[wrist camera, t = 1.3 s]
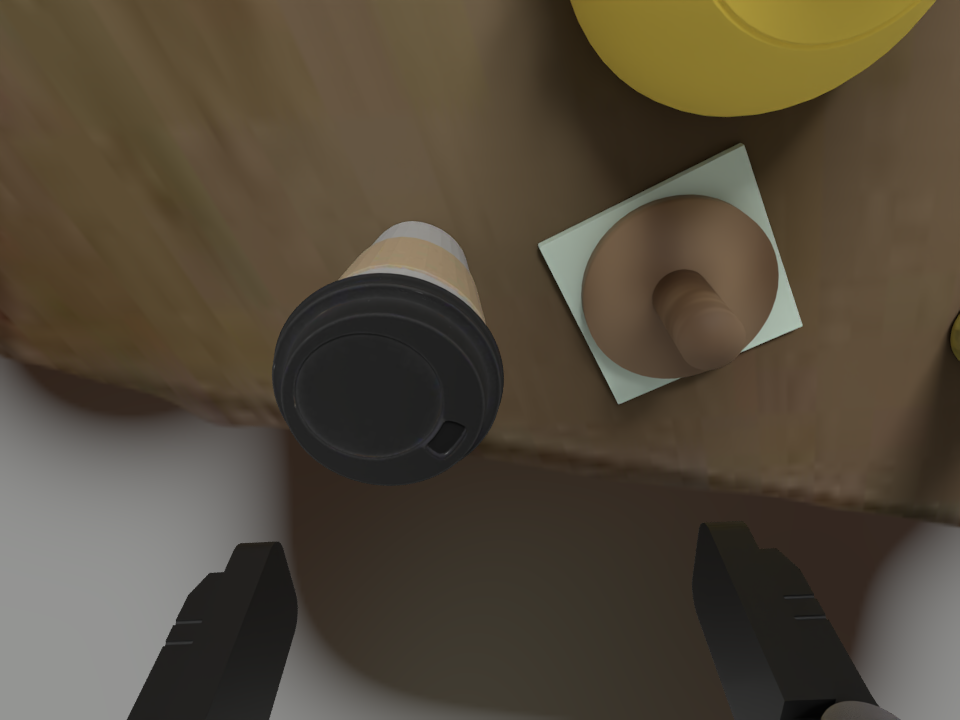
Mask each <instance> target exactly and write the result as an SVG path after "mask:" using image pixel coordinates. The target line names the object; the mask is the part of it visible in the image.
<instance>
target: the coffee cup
mask: <svg viewBox="0 0 960 720" xmlns="http://www.w3.org/2000/svg"><path fill="white" fill-rule="evenodd" d="M272 381H273V389H274V394H275V398H276V401H277V404H278V407H279V409H280V412H281V414H282V416H283V418H284V420H285V421H286V423H287V424H288V426H289V428H290V430H291V432H292V434H293V435H294V437H295V439H296V440H297V441H298V443H299V444H300V445H301V446H302V448H303V449H304V450H305V451H306V452H307V453H308V454H309V455H310V456H311V457H313V458H314V459H315V460H316V461H317V462H319V463H320V464H322V465H323V466H325V467H326V468H328V469H329V470H331V471H333V472H335V473H337V474H339V475H341V476H344V477H346V478H349V479H352V480H355V481H359V482H363V483H368V484H374V485H387V486H393V485H406V484H411V483H416V482H420V481H424V480H427V479H430V478H432V477H434V476H436V475H439V474H441V473H442V472H444V471H446V470H447V469H449V468H451V467H452V466H453V465H454V464H456V463H457V462H458V461H460V460H461V459H463V458H464V457H466V456H467V455H468V454H469V453H471V452H472V451H473V450H474V449H475V448H476V447H477V446H478V445H479V444H480V442H481V441H482V440H483V439H484V437H485V436H486V435H487V433H488V431H489V430H490V428H491V426H492V424H493V422H494V420H495V417H496V414H497V411H498V408H499V405H500V402H501V398H502V393H503V385H504V373H503V365H502V359H501V356H500V352H499V349H498V346H497V344H496V341H495V339H494V337H493V336H492V334H491V332H490V330H489V329H488V327H487V326H486V322H485V318H484V314H483V310H482V307H481V303H480V299H479V295H478V291H477V287H476V285H475V283H474V280H473V278H472V276H471V274H470V272H469V268H468V264H467V261H466V258H465V255H464V253H463V250H462V249H461V247H460V246H459V245H458V243H457V242H456V241H455V240H454V239H453V238H452V237H451V236H450V235H449V234H447V233H446V232H444V231H443V230H441V229H439V228H437V227H435V226H433V225H430V224H427V223H423V222H415V221H409V222H402V223H399V224H397V225H394V226H392V227H391V228H389V229H388V230H386V231H385V232H384V233H383V234H382V235H381V236H380V237H379V238H378V239H377V240H376V241H375V242H374V244H373V245H372V246H371V247H369V248H368V249H366V250H365V251H364V252H363V253H362V254H361V255H360V256H359V257H358V258H357V259H356V260H355V261H354V262H353V263H352V265H351V266H350V267H349V268H348V269H347V270H346V272H345V273H344V274H343V275H342V276H341V277H340V279H339V280H338V281H335V282H333V283H331V284H328V285H326V286H324V287H323V288H321V289H319V290H317V291H316V292H314V293H313V294H311V295H310V296H309V297H308V298H306V299H305V300H304V301H303V302H302V303H301V304H300V305H299V306H298V307H297V308H296V309H295V310H294V311H293V313H292V314H291V315H290V316H289V318H288V320H287V321H286V323H285V324H284V326H283V328H282V330H281V332H280V335H279V338H278V340H277V344H276V348H275V354H274V360H273V367H272Z"/></svg>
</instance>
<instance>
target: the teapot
mask: <svg viewBox="0 0 960 720" xmlns="http://www.w3.org/2000/svg"><path fill="white" fill-rule="evenodd" d="M570 1H571V4H572V7H573V9H574V12H575V15H576V17H577V20H578V22H579V24H580V26H581V28H582V30H583V32H584V33H585V35H586V37H587V39H588V41H589V43H590V44H591V46H592V47H593V48H594V50H595V51H596V52H597V54H598V55H599V57H600V58H601V59H602V61H603V62H604V63H605V64H606V65H607V66H608V67H609V68H610V69H611V70H612V71H613V72H614V73H615V74H616V75H617V76H618V77H619V78H620V79H621V80H622V81H624V82H625V83H626V84H628V85H629V86H630V87H632V88H633V89H634V90H636V91H637V92H639V93H641V94H643V95H644V96H646V97H648V98H650V99H652V100H654V101H656V102H658V103H661V104H664V105H666V106H669V107H672V108H675V109H677V110H680V111H684V112H689V113H694V114H698V115H703V116H717V117H734V116H747V115H758V114H763V113H767V112H772V111H777V110H781V109H784V108H788V107H791V106H794V105H797V104H799V103H802V102H805V101H808V100H811V99H814V98H816V97H818V96H820V95H822V94H824V93H826V92H828V91H830V90H832V89H834V88H836V87H838V86H839V85H841V84H843V83H844V82H846V81H847V80H849V79H851V78H852V77H854V76H855V75H857V74H859V73H860V72H862V71H863V70H865V69H866V68H868V67H869V66H870V65H872V64H873V63H874V62H875V61H877V60H878V59H879V58H881V57H882V56H883V55H884V54H886V53H887V52H888V51H889V50H890V49H891V48H892V47H894V46H895V45H896V44H897V43H898V42H899V41H900V40H901V39H902V38H903V37H904V36H905V35H906V34H907V33H908V32H909V31H910V30H911V29H912V28H913V27H914V26H915V24H916V23H917V22H918V21H919V20H920V19H921V17H922V16H923V15H924V14H925V13H926V12H927V11H928V9H929V8H930V7H931V6H932V5H933V4H934V3H935V1H936V0H570Z"/></svg>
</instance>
